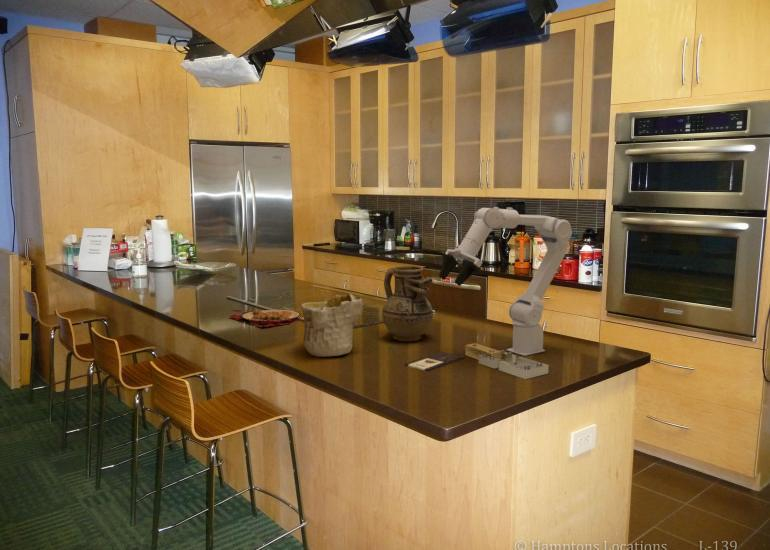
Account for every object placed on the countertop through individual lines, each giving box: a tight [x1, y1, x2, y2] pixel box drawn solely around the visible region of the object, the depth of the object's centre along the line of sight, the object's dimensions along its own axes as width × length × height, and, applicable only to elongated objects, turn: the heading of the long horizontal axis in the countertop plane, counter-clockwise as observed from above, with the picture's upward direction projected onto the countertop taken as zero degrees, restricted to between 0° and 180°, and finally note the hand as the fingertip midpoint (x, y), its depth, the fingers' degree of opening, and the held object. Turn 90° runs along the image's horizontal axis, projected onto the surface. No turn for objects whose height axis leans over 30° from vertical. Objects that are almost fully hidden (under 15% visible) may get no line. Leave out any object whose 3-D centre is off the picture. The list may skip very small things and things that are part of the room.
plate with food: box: [229, 309, 301, 328], centre depth 252 cm, size 25×26×4 cm
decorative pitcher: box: [381, 265, 434, 342], centre depth 217 cm, size 22×18×25 cm
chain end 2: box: [498, 356, 549, 380], centre depth 179 cm, size 9×10×3 cm
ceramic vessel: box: [300, 293, 364, 358], centre depth 201 cm, size 21×22×23 cm
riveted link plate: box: [465, 342, 501, 364], centre depth 193 cm, size 4×12×4 cm, turn 31°
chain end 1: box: [478, 349, 517, 369], centre depth 188 cm, size 9×6×3 cm
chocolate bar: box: [404, 351, 466, 372], centre depth 190 cm, size 9×1×18 cm
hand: (449, 281), depth 186 cm, fingers open, 7 cm apart
